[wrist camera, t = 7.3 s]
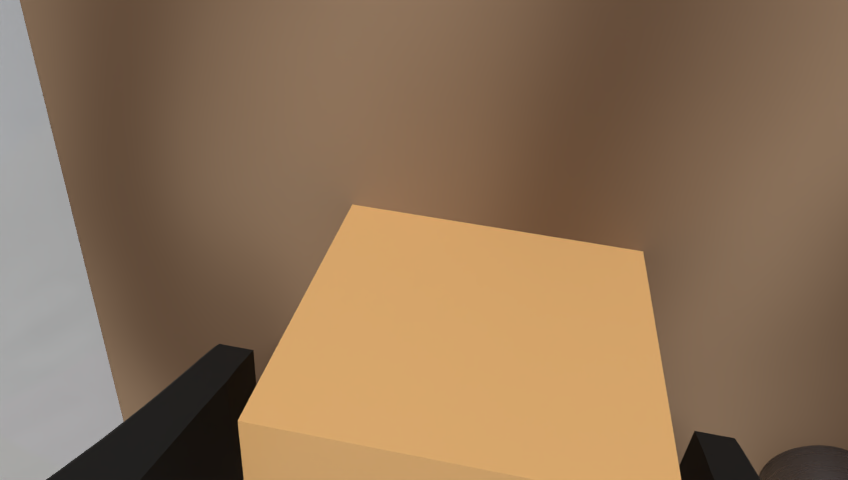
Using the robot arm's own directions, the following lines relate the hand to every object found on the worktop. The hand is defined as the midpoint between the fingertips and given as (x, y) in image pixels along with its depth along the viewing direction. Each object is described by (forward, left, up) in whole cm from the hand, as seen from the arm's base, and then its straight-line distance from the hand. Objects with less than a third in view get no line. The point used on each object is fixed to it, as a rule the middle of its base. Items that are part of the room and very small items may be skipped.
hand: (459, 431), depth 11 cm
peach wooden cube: (0, 0, -2) cm, 2 cm away
